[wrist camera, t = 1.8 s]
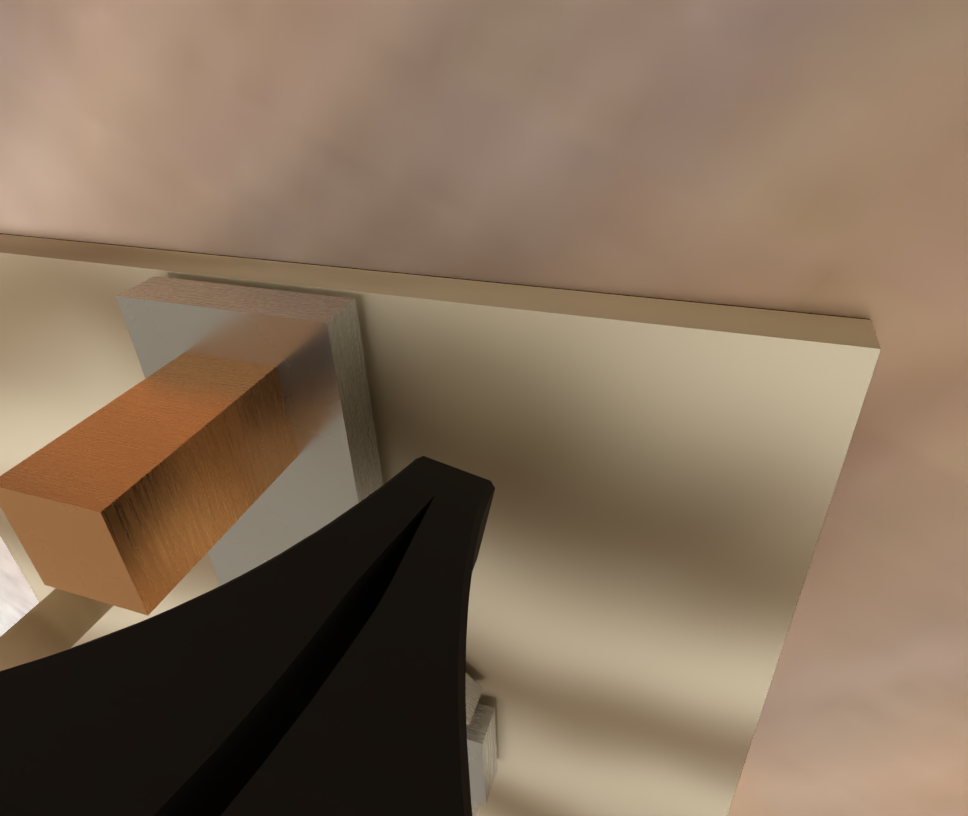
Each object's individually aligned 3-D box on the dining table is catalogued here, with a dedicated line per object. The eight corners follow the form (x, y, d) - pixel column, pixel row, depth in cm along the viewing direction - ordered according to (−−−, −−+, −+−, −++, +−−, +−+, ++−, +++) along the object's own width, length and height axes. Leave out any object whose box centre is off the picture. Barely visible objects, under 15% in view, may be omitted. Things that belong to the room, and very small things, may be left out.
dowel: (126, 607, 21) (17, 718, 18) (88, 595, 22) (-26, 702, 19) (109, 572, 20) (-9, 682, 17) (69, 561, 21) (-52, 666, 18)
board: (697, 876, 21) (695, 912, 20) (116, 679, 27) (97, 701, 26) (871, 319, 10) (880, 348, 9) (-133, 220, 17) (-177, 233, 16)
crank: (499, 824, 20) (437, 1031, 16) (250, 737, 23) (145, 898, 19) (478, 312, 11) (324, 505, 7) (64, 266, 14) (-219, 387, 10)
